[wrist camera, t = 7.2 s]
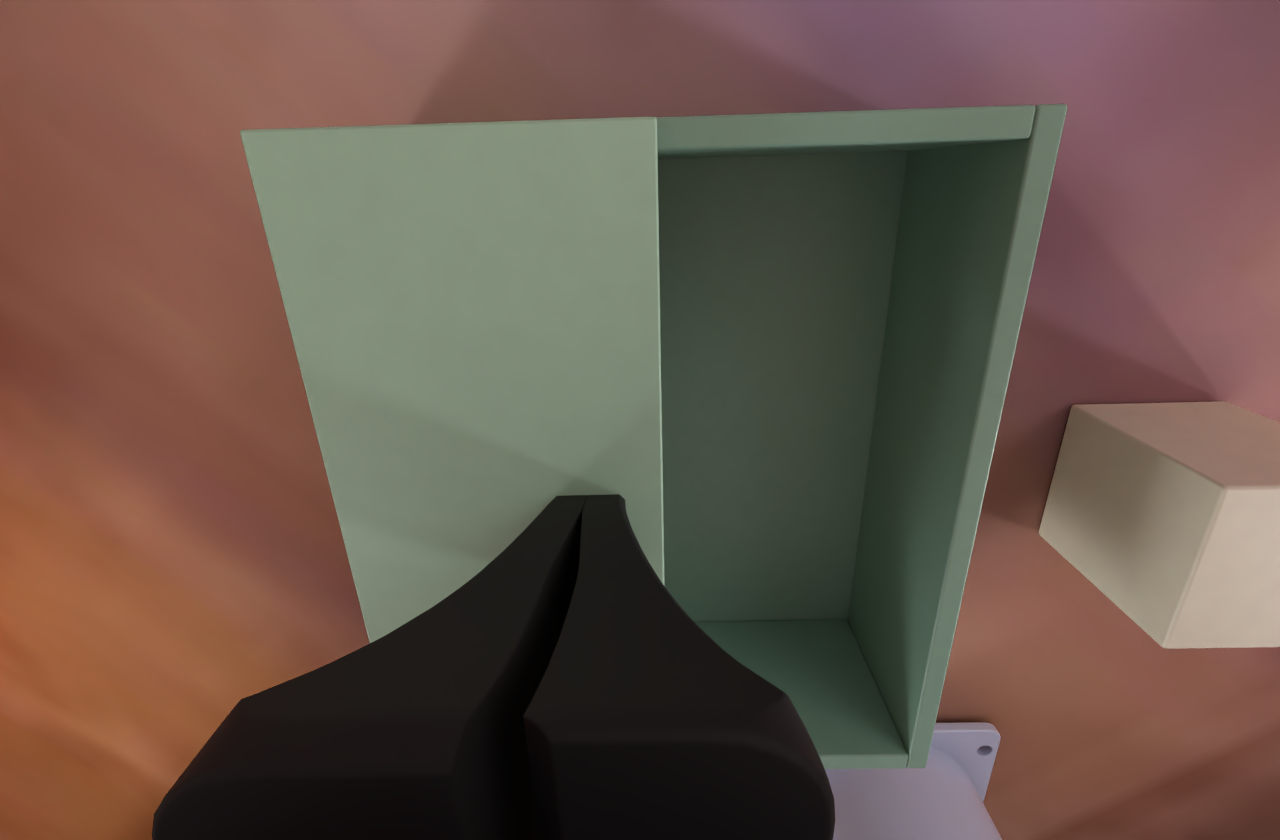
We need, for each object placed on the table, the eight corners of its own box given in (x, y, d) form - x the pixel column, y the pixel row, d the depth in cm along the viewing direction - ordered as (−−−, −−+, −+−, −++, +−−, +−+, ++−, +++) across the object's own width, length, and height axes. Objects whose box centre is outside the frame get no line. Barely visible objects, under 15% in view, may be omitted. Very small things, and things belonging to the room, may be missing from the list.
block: (1178, 531, 19) (1352, 648, 14) (1036, 533, 19) (1162, 650, 14) (1226, 400, 17) (1440, 483, 12) (1070, 403, 17) (1226, 487, 13)
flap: (667, 783, 15) (667, 798, 15) (415, 787, 15) (409, 802, 15) (656, 118, 9) (656, 116, 9) (253, 130, 9) (237, 129, 9)
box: (856, 620, 20) (926, 769, 15) (475, 625, 21) (418, 774, 15) (922, 128, 15) (1070, 103, 9) (395, 145, 15) (263, 129, 10)
